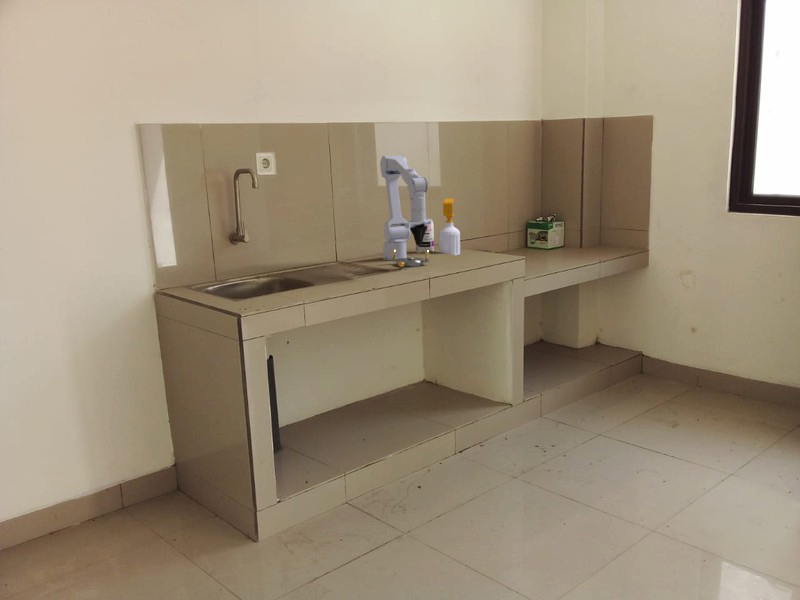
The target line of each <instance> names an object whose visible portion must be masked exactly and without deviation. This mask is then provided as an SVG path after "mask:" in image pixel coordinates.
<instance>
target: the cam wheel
mask: <svg viewBox="0 0 800 600" xmlns="http://www.w3.org/2000/svg"><path fill="white" fill-rule="evenodd" d="M391 261H392V262H395V263H396V266H397V267H400V268H417V267H422V266H424V265H425V263H429V262H430V251H429V250H425V251H424V258H422V257H415V256H414V257H413V256H409V257H407V258H400V259H396V249H392V260H391Z"/></svg>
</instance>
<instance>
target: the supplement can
mask: <svg viewBox="0 0 800 600" xmlns="http://www.w3.org/2000/svg"><path fill="white" fill-rule="evenodd" d="M417 225H418V224H417ZM424 226H427V230H426V232H425V235H424V238H423V243H422V245H416V244H415V251H416V253H423V252H424V253H425V250H429V252H434V251H435V231H434V229H435V228H434V227H435V226H434V221H433V220H432V224H426V225H424Z"/></svg>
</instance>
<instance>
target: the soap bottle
mask: <svg viewBox="0 0 800 600" xmlns="http://www.w3.org/2000/svg"><path fill="white" fill-rule="evenodd" d="M454 201H455V199H454V198H444V201H443V203H442V204H443V205H442V206H443V207H442V209H443V210H442V211H443V212H442V214H443V217H445V218H446V219H447V220H446V221H445V226H444V227H443V228H442V229H440V230H439V234H438V236H439V237H438V241H439V242H438V243H439V248H438V250H439V253H440V254H445V255H446V254H447V255H451V256H456V257H457V256H459V255H461V232H460V230H459V229H458V228H457V227H455V226H454V221H453V220H452V219H453V217H454V216H455V213H454V212H453V210H454V208H453V205H454V204H453V203H454Z"/></svg>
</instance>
